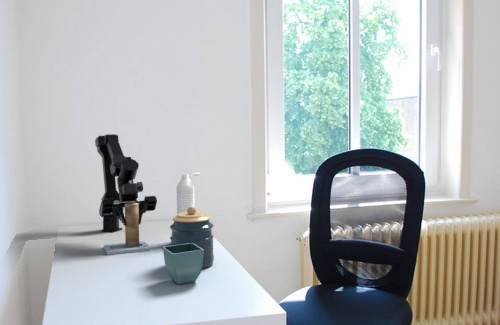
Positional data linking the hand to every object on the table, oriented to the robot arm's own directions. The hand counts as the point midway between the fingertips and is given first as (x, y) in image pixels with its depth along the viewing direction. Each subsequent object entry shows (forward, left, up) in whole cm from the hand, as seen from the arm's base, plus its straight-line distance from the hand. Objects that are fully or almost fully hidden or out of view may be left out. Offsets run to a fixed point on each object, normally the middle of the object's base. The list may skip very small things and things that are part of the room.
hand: (132, 224), depth 160 cm
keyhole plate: (+1, -3, -9) cm, 9 cm away
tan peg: (-1, -1, -8) cm, 8 cm away
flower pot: (+26, +33, -9) cm, 43 cm away
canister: (+11, +28, -9) cm, 31 cm away
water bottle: (-16, +13, -9) cm, 23 cm away
